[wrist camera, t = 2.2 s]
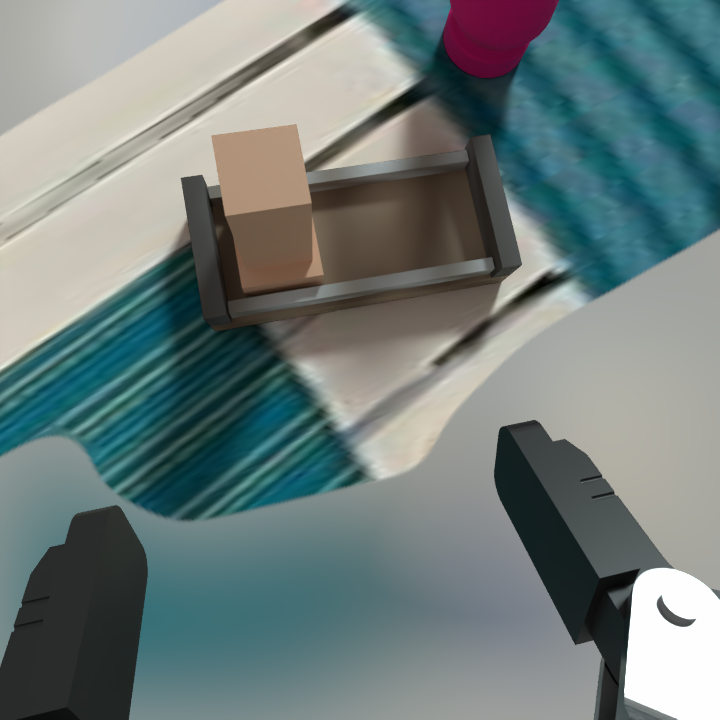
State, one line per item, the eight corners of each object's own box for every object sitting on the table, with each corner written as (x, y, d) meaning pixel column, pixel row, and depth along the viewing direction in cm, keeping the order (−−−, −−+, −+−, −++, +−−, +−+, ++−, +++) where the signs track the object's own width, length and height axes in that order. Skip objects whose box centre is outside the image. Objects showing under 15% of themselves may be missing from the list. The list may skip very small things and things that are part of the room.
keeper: (306, 198, 35) (303, 103, 25) (323, 283, 34) (326, 221, 24) (231, 209, 34) (197, 117, 25) (246, 296, 34) (217, 238, 24)
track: (473, 163, 38) (490, 134, 34) (501, 281, 37) (522, 264, 33) (194, 204, 36) (180, 177, 32) (215, 331, 35) (203, 318, 31)
